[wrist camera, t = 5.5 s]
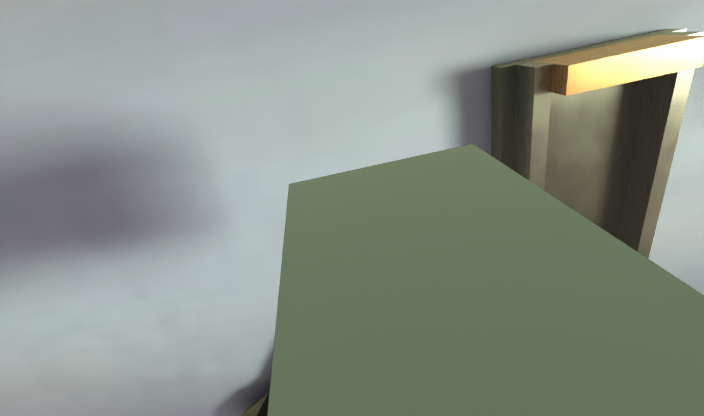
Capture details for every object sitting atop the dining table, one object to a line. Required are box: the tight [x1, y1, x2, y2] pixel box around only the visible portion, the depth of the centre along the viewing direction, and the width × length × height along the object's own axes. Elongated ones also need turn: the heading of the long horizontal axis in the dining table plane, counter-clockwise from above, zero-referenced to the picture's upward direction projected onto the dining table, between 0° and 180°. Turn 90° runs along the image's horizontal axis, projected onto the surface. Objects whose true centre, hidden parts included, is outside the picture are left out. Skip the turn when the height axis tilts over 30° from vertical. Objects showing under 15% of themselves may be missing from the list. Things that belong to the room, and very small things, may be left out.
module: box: [267, 144, 704, 416], centre depth 6 cm, size 6×4×8 cm
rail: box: [492, 29, 704, 259], centre depth 20 cm, size 18×9×4 cm, turn 10°
